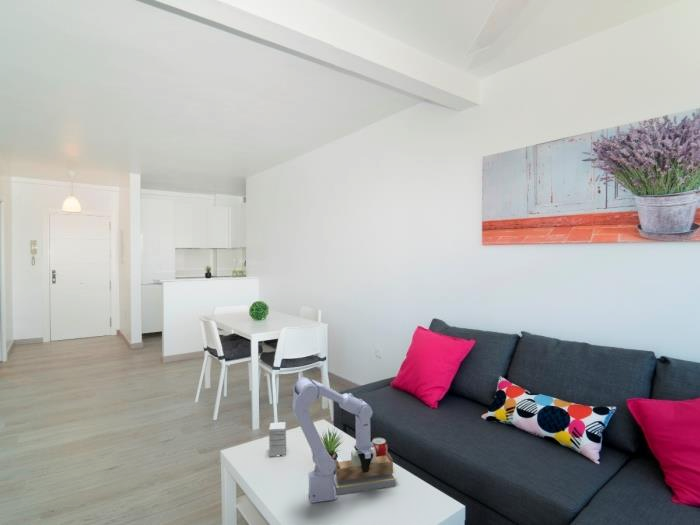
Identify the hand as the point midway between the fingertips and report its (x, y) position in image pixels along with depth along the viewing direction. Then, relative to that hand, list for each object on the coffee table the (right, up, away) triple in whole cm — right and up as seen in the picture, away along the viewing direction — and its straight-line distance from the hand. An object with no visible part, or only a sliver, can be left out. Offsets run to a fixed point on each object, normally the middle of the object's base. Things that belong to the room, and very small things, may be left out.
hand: (363, 468), depth 148 cm
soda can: (+7, -7, +11) cm, 14 cm away
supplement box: (-38, -8, +26) cm, 47 cm away
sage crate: (-2, +2, -1) cm, 3 cm away
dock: (0, -6, 0) cm, 6 cm away
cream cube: (+2, +2, +1) cm, 4 cm away
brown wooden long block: (0, -2, 0) cm, 2 cm away
